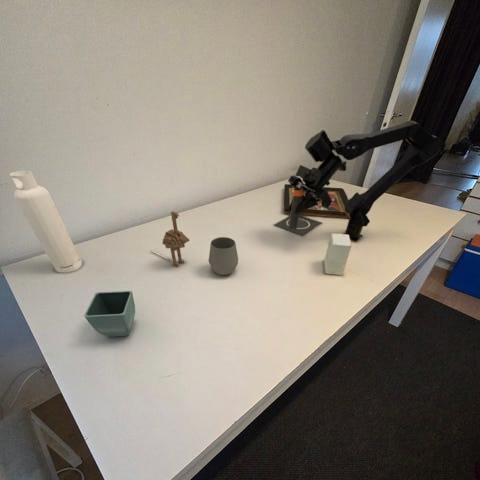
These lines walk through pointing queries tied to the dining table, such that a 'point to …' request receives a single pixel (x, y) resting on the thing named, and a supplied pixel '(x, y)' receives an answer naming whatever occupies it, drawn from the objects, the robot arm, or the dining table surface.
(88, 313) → the flower pot
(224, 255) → the cup
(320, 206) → the framed painting
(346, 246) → the small box
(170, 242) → the ostrich figurine
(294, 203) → the marker
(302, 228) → the board
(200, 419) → the dining table surface
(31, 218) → the bottle
